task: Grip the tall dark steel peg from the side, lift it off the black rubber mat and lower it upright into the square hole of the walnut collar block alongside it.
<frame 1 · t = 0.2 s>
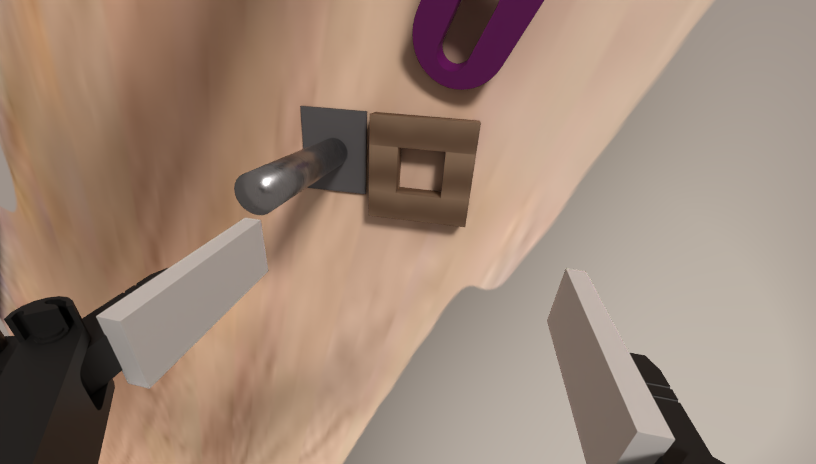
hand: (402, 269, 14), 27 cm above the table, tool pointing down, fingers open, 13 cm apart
collar: (422, 168, 40), on the table
peg: (303, 168, 33), on the mat
mat: (335, 151, 41), on the table
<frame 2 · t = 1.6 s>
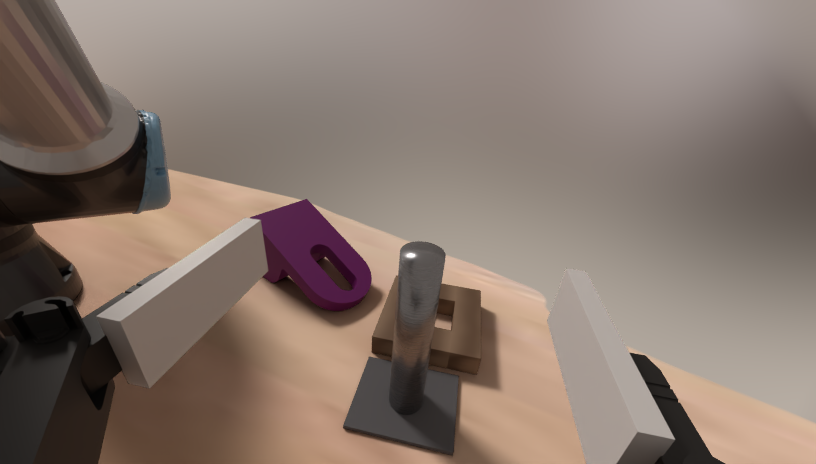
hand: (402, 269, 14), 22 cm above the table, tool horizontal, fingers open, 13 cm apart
mounting bracket: (315, 281, 49), on the table
collar: (430, 325, 42), on the table
peg: (413, 335, 29), on the mat
mat: (405, 401, 33), on the table
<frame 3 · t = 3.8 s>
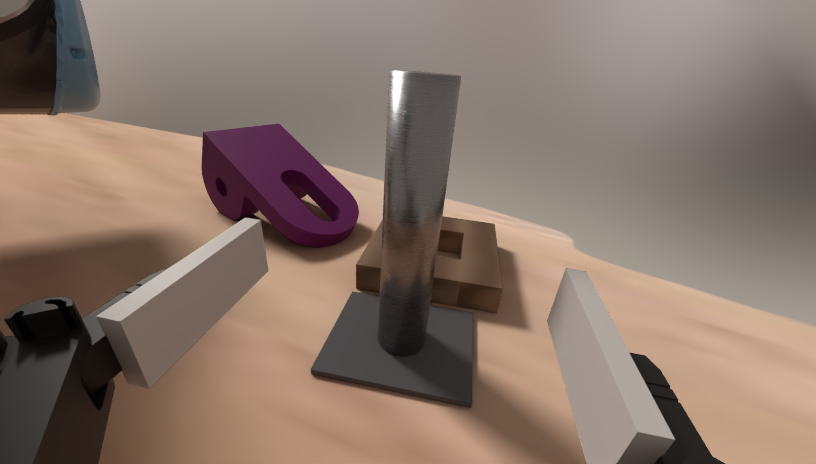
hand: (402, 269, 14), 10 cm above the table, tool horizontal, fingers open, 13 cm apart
mounting bracket: (290, 221, 40), on the table
collar: (432, 262, 33), on the table
peg: (411, 231, 19), on the mat
mat: (401, 341, 24), on the table
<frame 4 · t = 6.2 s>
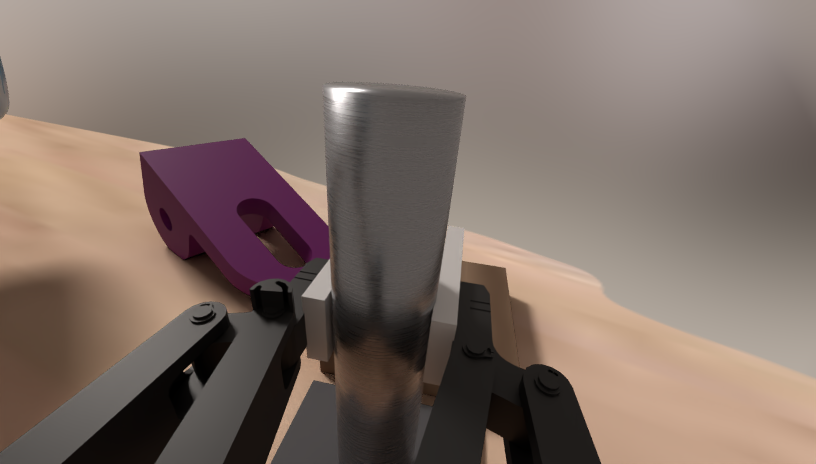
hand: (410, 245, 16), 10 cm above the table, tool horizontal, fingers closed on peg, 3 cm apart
mounting bracket: (255, 258, 32), on the table
collar: (425, 323, 26), on the table
peg: (382, 344, 12), on the mat, touching gripper
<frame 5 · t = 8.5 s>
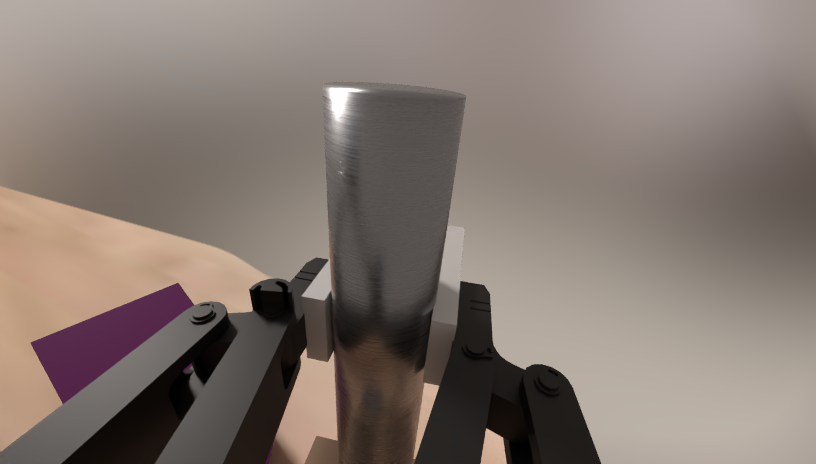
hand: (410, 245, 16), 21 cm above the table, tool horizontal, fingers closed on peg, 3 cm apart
mounting bracket: (183, 436, 28), on the table
peg: (382, 344, 12), point 20 cm above the table, touching gripper
when the fingers open (11 cm above the table, at t = 11.0 s): peg drops 1 cm, resting in collar.
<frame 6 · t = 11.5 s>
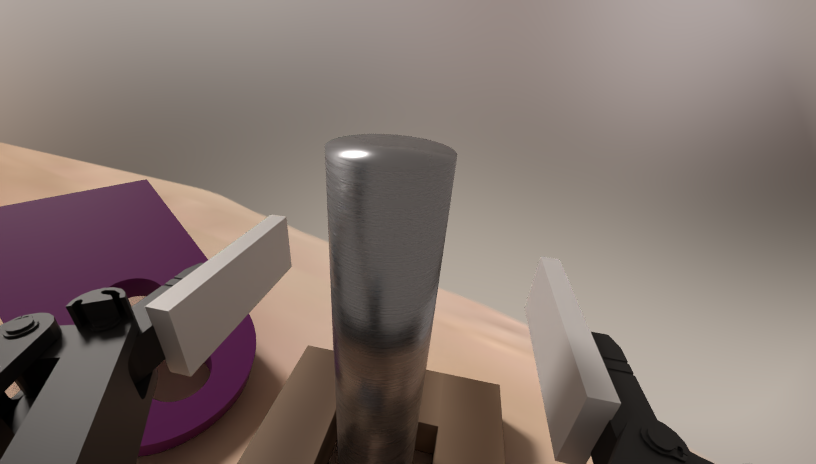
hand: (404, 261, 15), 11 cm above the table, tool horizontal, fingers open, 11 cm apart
mounting bracket: (149, 354, 23), on the table
peg: (380, 371, 13), in the collar
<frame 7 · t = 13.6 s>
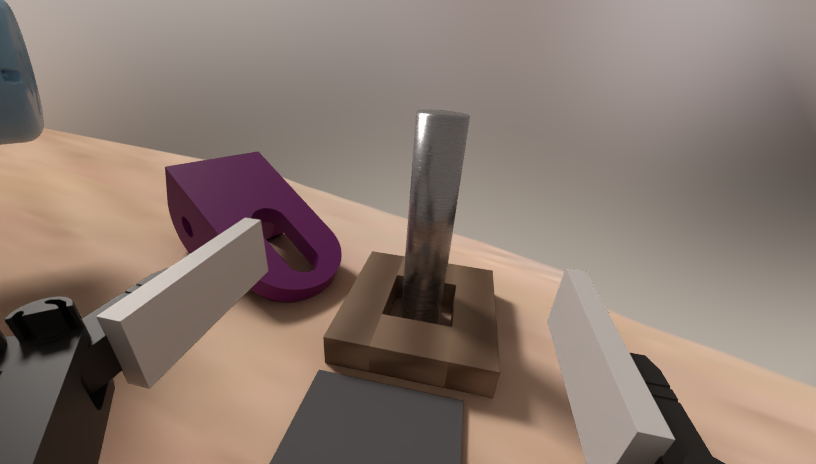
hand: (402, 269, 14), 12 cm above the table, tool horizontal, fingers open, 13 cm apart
mounting bracket: (266, 263, 35), on the table
collar: (419, 321, 28), on the table
peg: (429, 231, 25), in the collar
mat: (372, 448, 19), on the table
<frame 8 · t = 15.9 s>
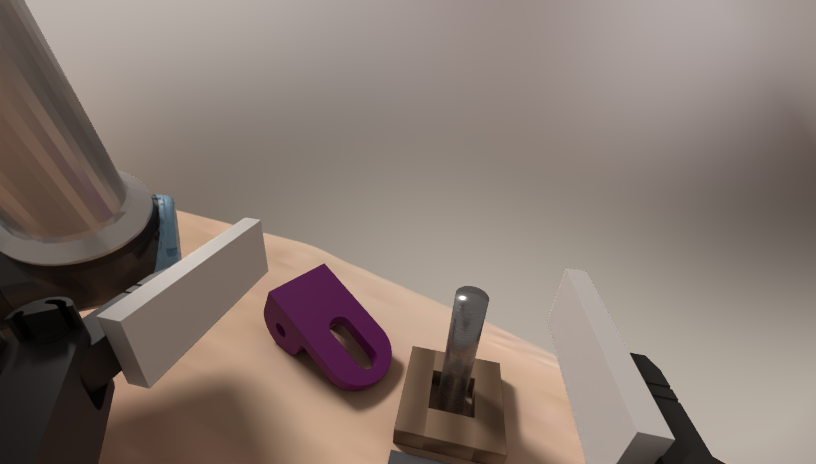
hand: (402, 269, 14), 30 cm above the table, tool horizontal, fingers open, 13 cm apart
mounting bracket: (333, 350, 48), on the table
collar: (450, 405, 41), on the table
peg: (460, 354, 38), in the collar
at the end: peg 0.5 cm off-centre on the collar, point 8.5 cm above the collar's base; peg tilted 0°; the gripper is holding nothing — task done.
